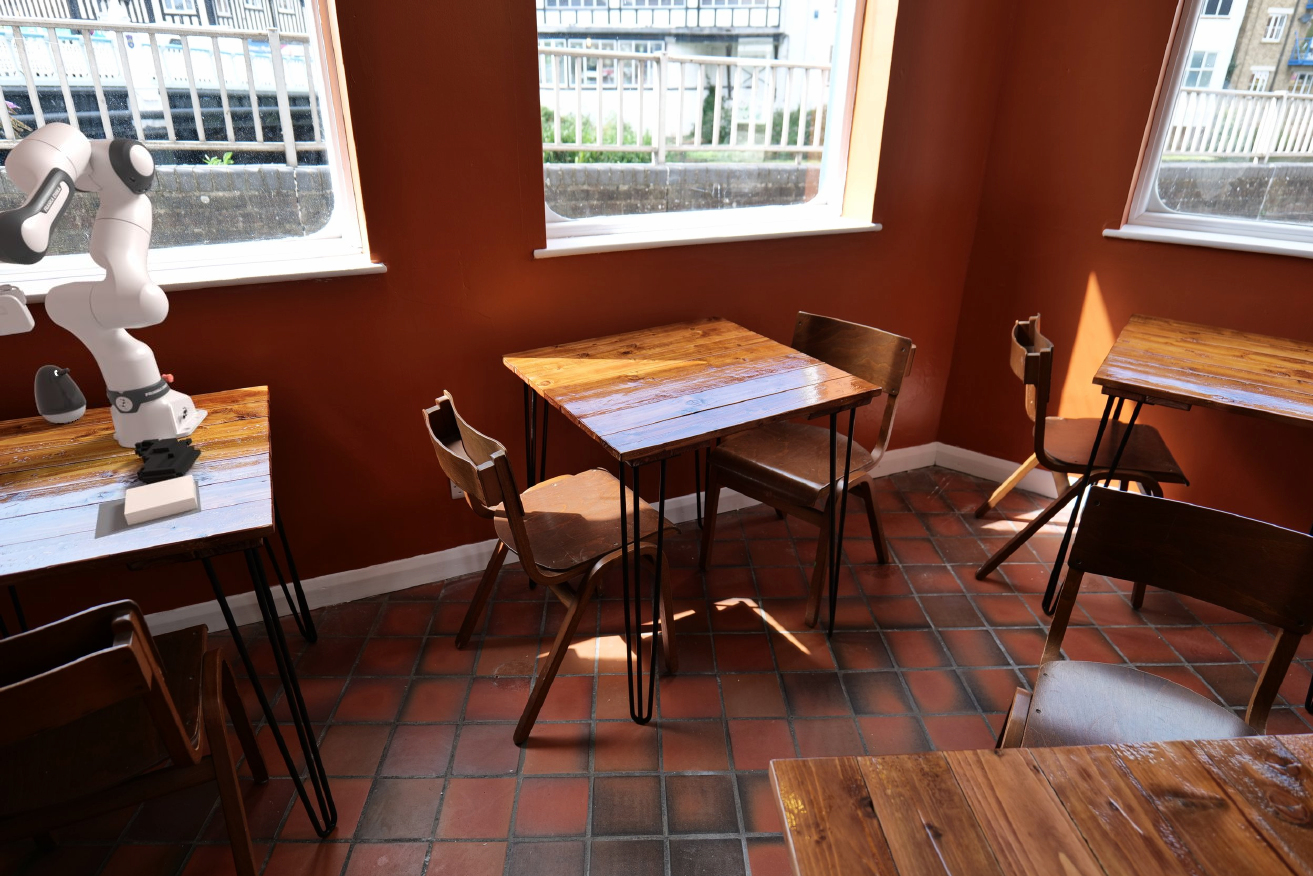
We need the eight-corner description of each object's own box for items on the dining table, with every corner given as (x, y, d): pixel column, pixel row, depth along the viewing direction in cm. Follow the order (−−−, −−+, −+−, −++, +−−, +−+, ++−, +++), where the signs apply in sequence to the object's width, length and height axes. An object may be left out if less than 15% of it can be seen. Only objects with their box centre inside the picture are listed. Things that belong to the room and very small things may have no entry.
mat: (95, 540, 144) (94, 538, 144) (100, 505, 156) (99, 503, 156) (201, 513, 152) (201, 511, 152) (198, 482, 165) (197, 480, 164)
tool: (98, 473, 158) (176, 465, 160) (138, 434, 176) (208, 427, 179) (107, 496, 160) (183, 487, 163) (146, 455, 178) (214, 448, 181)
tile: (124, 514, 147) (194, 497, 152) (126, 489, 156) (192, 474, 162) (128, 525, 148) (197, 508, 153) (130, 500, 157) (195, 484, 163)
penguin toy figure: (73, 427, 195) (51, 372, 188) (34, 428, 195) (11, 372, 189) (100, 412, 204) (81, 358, 198) (63, 412, 204) (42, 359, 198)
